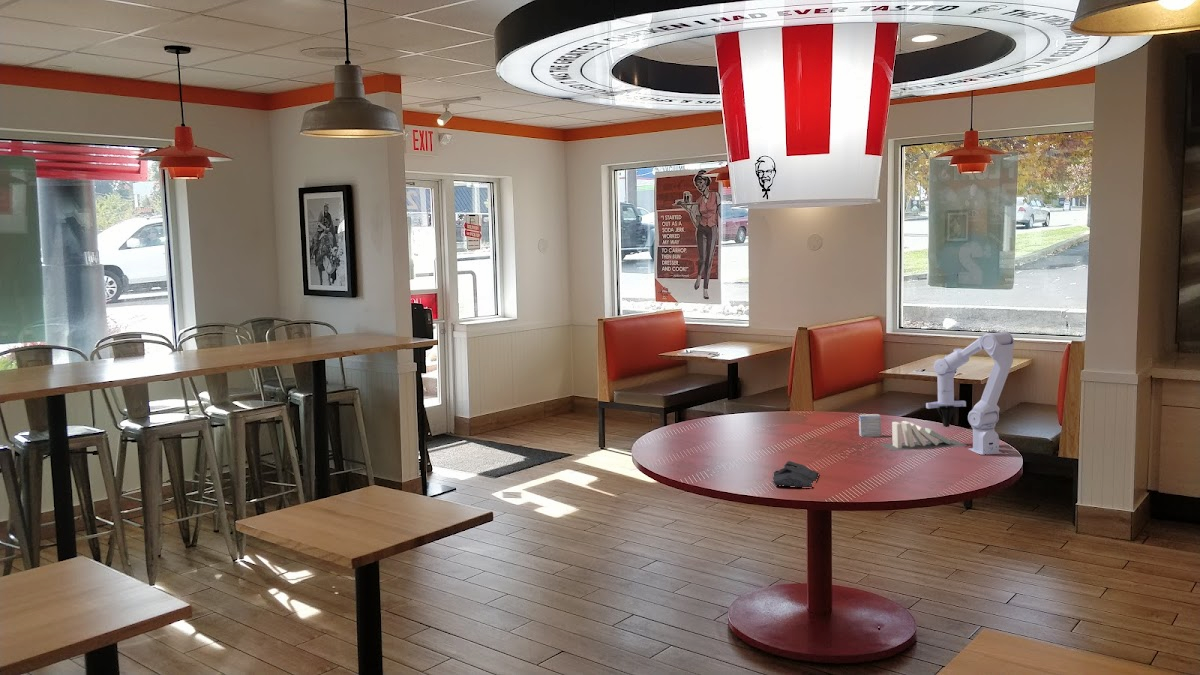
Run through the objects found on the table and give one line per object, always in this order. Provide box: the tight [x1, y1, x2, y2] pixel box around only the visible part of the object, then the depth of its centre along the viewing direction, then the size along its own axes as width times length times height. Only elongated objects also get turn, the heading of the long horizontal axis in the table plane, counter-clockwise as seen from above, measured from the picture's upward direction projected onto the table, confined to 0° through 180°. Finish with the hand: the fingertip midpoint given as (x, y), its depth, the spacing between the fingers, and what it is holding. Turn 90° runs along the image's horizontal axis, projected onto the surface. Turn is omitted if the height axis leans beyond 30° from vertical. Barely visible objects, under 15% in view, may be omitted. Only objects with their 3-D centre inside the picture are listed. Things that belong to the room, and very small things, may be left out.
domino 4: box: [915, 424, 939, 446], centre depth 348 cm, size 2×5×9 cm
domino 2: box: [900, 420, 915, 447], centre depth 347 cm, size 2×5×9 cm, turn 4°
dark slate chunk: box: [772, 460, 820, 487], centre depth 306 cm, size 15×22×5 cm
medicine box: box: [858, 413, 882, 438], centre depth 370 cm, size 8×4×9 cm, turn 84°
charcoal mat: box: [879, 439, 969, 452], centre depth 348 cm, size 12×29×1 cm, turn 94°
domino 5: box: [924, 427, 952, 445], centre depth 348 cm, size 2×5×9 cm
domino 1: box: [891, 421, 903, 448], centre depth 347 cm, size 2×5×9 cm, turn 4°
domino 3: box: [908, 421, 927, 446], centre depth 348 cm, size 2×5×9 cm
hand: (946, 426), depth 348 cm, fingers closed
